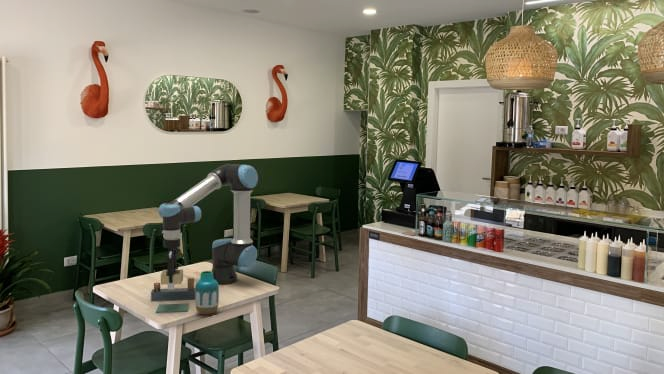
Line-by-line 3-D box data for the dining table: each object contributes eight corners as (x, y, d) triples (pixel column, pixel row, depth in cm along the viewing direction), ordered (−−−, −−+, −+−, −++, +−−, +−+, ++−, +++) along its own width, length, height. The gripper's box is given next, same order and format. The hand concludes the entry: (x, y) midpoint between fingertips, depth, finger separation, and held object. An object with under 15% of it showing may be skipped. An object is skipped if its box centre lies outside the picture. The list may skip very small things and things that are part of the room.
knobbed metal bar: (196, 296, 265) (196, 276, 264) (195, 299, 260) (195, 279, 259) (152, 298, 261) (152, 278, 260) (151, 301, 256) (150, 281, 255)
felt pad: (189, 304, 253) (189, 303, 253) (187, 311, 243) (187, 310, 243) (158, 305, 251) (158, 304, 250) (155, 313, 241) (155, 311, 241)
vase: (190, 313, 240) (189, 272, 238) (207, 307, 249) (207, 267, 247) (206, 319, 235) (206, 277, 232) (223, 312, 243) (223, 271, 241)
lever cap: (183, 278, 250) (183, 267, 250) (181, 284, 242) (181, 272, 241) (163, 279, 249) (163, 268, 248) (160, 284, 240) (160, 273, 240)
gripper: (166, 233, 253) (166, 279, 255) (159, 243, 232) (160, 293, 234) (182, 233, 254) (183, 279, 257) (177, 243, 233) (178, 293, 236)
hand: (172, 286), depth 246 cm, fingers closed on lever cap, 8 cm apart
